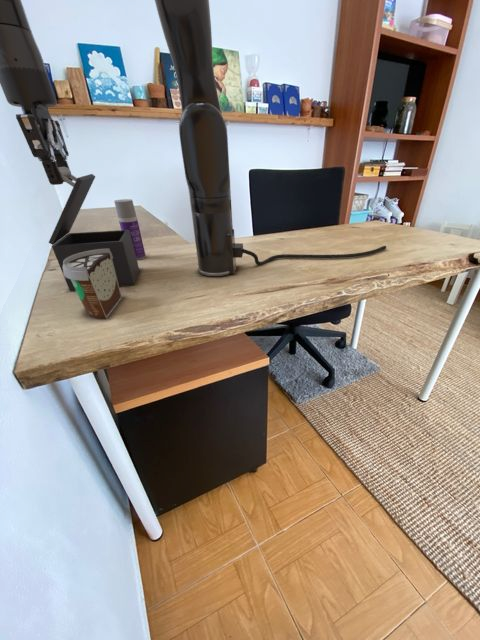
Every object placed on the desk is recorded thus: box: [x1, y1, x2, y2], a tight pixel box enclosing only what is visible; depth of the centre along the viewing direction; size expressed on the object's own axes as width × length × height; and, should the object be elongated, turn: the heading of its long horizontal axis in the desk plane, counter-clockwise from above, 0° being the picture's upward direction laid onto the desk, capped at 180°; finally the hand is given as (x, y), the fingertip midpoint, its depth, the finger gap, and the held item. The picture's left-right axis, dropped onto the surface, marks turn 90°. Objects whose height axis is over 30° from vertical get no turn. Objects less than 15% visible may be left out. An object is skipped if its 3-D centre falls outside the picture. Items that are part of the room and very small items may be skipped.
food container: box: [62, 249, 123, 320], centre depth 55 cm, size 12×6×10 cm, turn 5°
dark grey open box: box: [51, 229, 140, 292], centre depth 68 cm, size 14×12×10 cm
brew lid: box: [48, 167, 96, 246], centre depth 61 cm, size 14×12×5 cm
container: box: [113, 198, 147, 261], centre depth 81 cm, size 5×5×15 cm
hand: (62, 182), depth 59 cm, fingers closed on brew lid, 6 cm apart
